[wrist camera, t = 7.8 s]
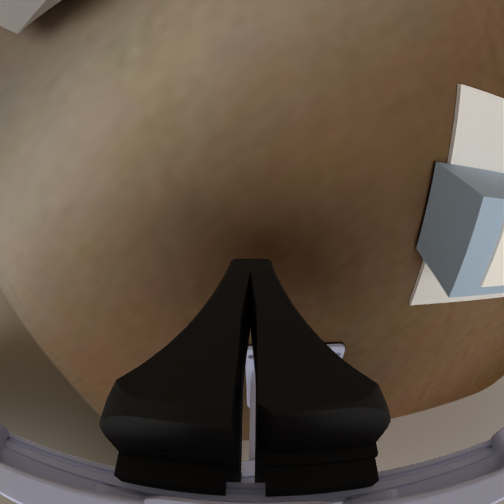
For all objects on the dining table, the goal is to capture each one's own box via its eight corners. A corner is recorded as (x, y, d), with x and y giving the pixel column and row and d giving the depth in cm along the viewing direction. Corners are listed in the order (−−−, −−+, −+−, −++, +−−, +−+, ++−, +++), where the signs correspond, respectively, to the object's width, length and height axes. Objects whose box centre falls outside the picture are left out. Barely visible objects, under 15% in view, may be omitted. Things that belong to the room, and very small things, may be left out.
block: (416, 248, 19) (512, 249, 19) (450, 300, 15) (548, 289, 15) (435, 161, 16) (534, 180, 16) (486, 198, 11) (580, 213, 11)
